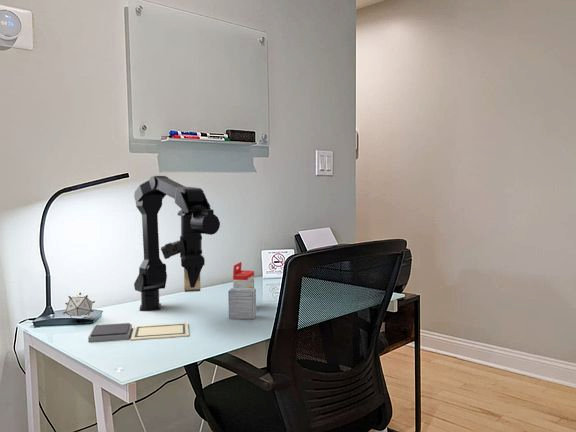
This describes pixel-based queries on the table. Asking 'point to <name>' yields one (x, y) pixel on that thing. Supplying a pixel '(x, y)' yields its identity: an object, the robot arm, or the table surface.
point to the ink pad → (110, 332)
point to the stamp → (187, 284)
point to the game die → (79, 305)
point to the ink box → (242, 277)
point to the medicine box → (242, 303)
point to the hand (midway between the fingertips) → (192, 285)
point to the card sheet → (160, 331)
